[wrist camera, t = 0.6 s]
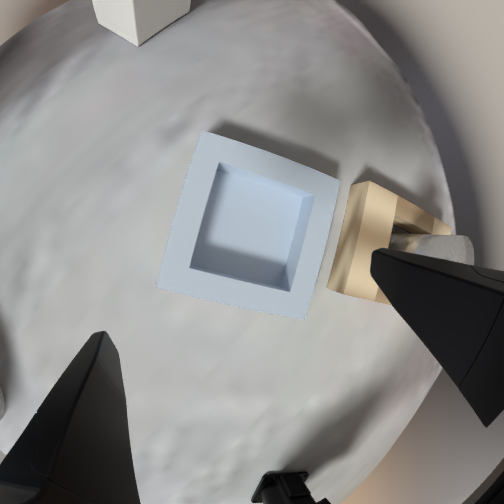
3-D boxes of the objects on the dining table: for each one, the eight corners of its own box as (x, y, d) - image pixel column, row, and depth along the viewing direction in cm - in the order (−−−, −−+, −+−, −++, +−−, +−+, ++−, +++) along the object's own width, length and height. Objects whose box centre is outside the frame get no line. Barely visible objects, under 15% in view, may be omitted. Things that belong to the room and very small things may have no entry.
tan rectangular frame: (415, 308, 30) (433, 313, 27) (326, 287, 26) (343, 294, 23) (433, 227, 30) (451, 227, 27) (351, 184, 26) (369, 180, 23)
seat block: (291, 310, 25) (304, 320, 22) (158, 280, 22) (156, 287, 19) (323, 185, 25) (340, 180, 22) (198, 142, 22) (201, 130, 19)
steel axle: (398, 277, 28) (468, 292, 19) (371, 268, 27) (445, 283, 18) (406, 239, 28) (477, 243, 19) (380, 227, 27) (455, 228, 18)
